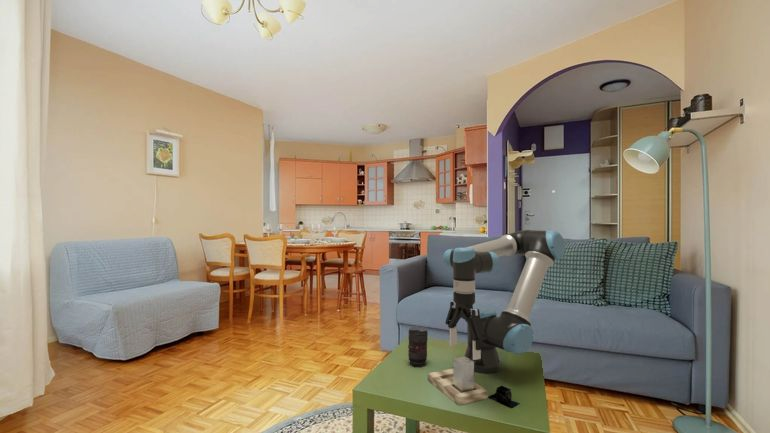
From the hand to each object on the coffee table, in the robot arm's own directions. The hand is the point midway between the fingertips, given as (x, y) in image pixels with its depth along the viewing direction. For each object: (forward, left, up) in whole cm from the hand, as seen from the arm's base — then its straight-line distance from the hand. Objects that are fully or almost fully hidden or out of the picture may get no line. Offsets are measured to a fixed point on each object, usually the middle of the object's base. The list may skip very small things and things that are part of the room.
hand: (464, 352), depth 123 cm
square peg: (0, 0, -15) cm, 15 cm away
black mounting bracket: (-10, +9, -16) cm, 20 cm away
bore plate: (0, -4, -15) cm, 15 cm away
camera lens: (+2, -29, -15) cm, 33 cm away
